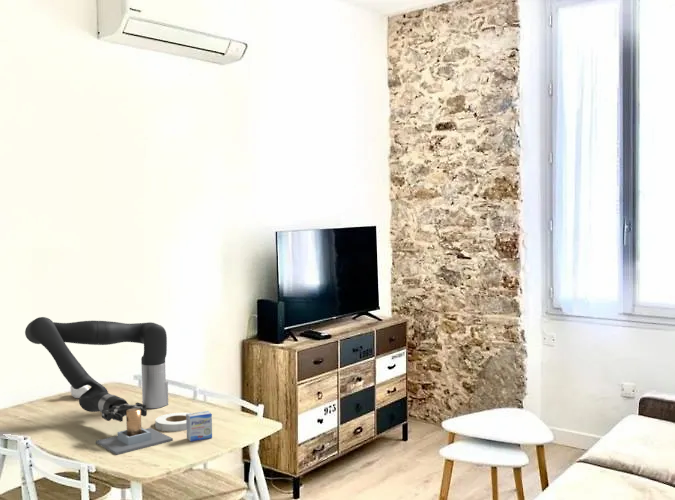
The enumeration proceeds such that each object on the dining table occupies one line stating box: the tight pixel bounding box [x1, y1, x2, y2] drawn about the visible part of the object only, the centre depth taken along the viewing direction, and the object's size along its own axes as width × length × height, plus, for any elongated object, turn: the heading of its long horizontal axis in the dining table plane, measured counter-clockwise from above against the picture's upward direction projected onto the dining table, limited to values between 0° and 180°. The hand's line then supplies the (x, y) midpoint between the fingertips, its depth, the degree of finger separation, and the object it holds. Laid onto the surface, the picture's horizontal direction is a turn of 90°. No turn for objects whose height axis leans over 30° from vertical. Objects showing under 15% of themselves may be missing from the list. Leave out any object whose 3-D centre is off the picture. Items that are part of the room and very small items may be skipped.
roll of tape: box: [154, 412, 191, 432], centre depth 255 cm, size 16×15×3 cm
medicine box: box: [186, 410, 213, 442], centre depth 240 cm, size 8×4×9 cm, turn 118°
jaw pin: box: [125, 408, 143, 437], centre depth 237 cm, size 5×5×10 cm
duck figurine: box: [69, 385, 90, 399], centre depth 294 cm, size 12×8×11 cm
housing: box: [95, 427, 174, 456], centre depth 237 cm, size 20×16×3 cm
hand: (133, 415), depth 237 cm, fingers open, 8 cm apart
